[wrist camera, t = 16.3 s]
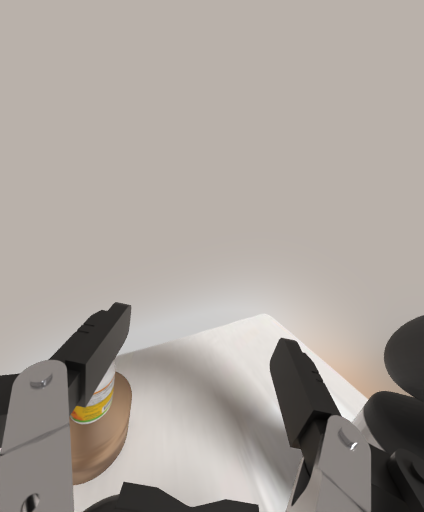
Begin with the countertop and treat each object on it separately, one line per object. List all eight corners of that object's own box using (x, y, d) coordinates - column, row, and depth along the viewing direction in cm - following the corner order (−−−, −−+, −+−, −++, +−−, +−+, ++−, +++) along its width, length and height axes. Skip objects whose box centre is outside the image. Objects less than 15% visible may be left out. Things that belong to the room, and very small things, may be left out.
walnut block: (124, 392, 39) (127, 362, 36) (132, 460, 30) (137, 428, 28) (52, 413, 33) (50, 380, 31) (37, 505, 25) (32, 470, 22)
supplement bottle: (69, 393, 30) (68, 344, 26) (109, 380, 33) (114, 335, 29) (68, 433, 26) (67, 382, 22) (114, 414, 29) (120, 367, 25)
